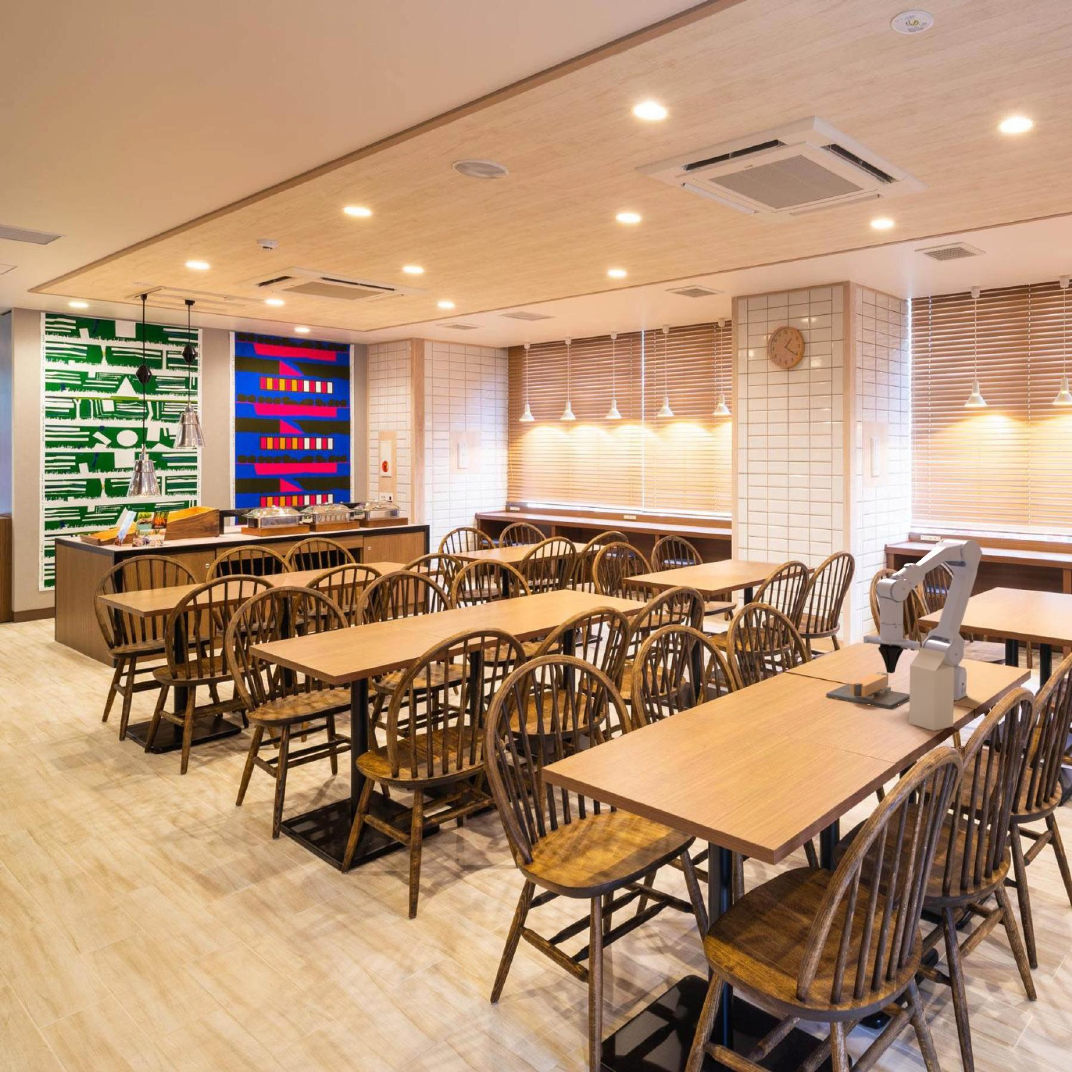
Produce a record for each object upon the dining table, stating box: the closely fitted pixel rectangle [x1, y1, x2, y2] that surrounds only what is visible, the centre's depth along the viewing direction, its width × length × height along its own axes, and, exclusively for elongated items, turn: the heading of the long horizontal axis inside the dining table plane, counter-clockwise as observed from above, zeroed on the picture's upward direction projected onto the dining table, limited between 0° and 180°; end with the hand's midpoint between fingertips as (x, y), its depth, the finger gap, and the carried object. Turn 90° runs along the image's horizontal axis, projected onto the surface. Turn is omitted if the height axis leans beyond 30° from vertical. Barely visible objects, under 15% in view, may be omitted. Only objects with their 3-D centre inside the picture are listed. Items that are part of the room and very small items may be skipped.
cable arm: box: [850, 672, 889, 697], centre depth 232 cm, size 18×4×3 cm, turn 135°
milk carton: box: [908, 647, 955, 732], centre depth 204 cm, size 7×7×19 cm
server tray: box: [825, 683, 910, 710], centre depth 232 cm, size 18×18×2 cm
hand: (890, 672), depth 225 cm, fingers closed
